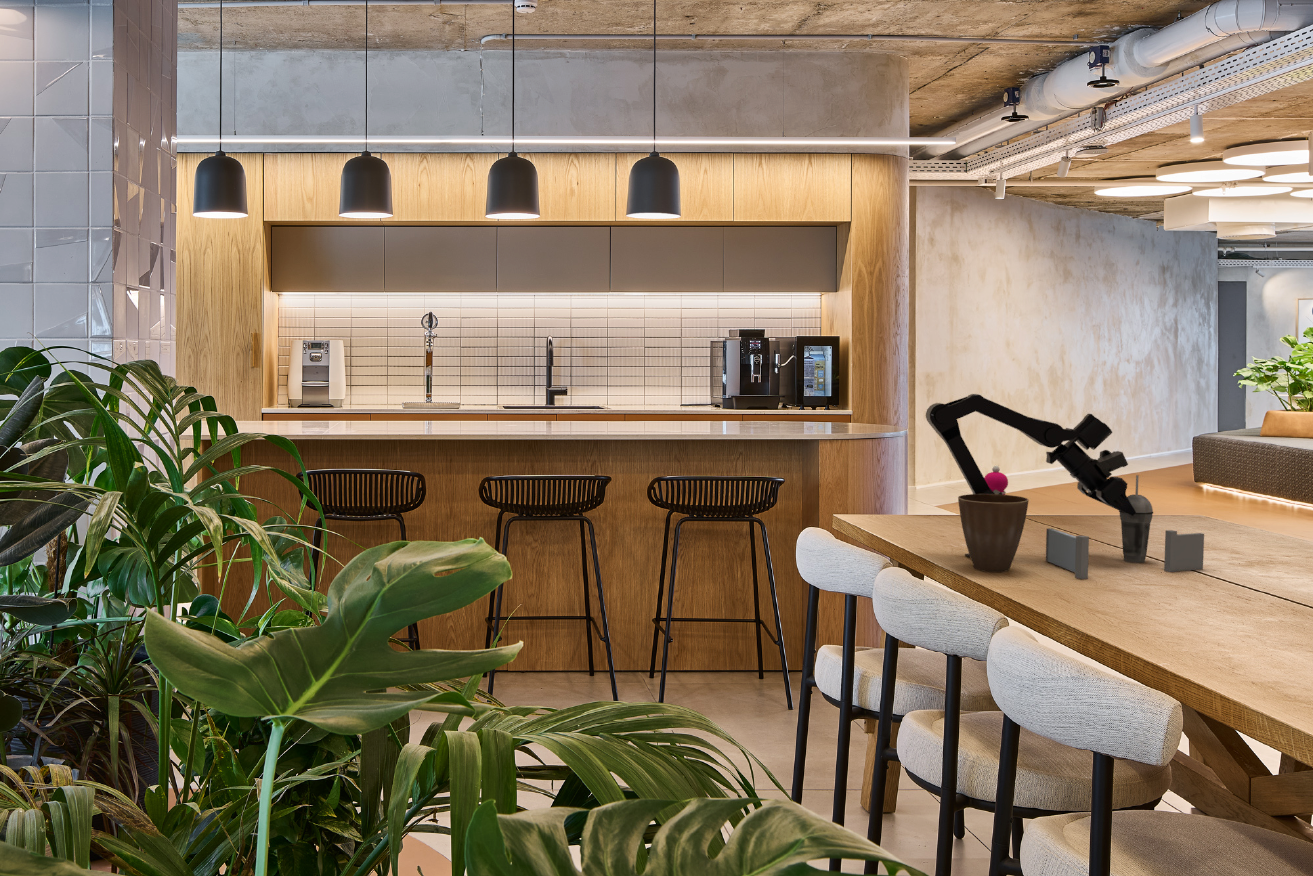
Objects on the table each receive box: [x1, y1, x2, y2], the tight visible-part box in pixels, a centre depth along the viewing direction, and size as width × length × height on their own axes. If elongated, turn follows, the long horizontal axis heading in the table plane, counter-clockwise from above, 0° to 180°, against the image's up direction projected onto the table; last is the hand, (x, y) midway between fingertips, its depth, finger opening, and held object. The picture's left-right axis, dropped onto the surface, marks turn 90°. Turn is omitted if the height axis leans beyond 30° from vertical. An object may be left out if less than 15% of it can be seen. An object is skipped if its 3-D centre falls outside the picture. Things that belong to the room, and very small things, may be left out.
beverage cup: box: [1118, 474, 1154, 564], centre depth 235 cm, size 7×7×20 cm
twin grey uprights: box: [1074, 529, 1205, 580], centre depth 221 cm, size 34×2×9 cm, turn 109°
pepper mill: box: [983, 465, 1009, 495], centre depth 259 cm, size 7×7×20 cm
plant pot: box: [957, 493, 1029, 573], centre depth 226 cm, size 15×15×16 cm
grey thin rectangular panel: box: [1045, 527, 1077, 573], centre depth 226 cm, size 17×1×8 cm, turn 4°
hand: (1127, 511), depth 236 cm, fingers open, 9 cm apart
